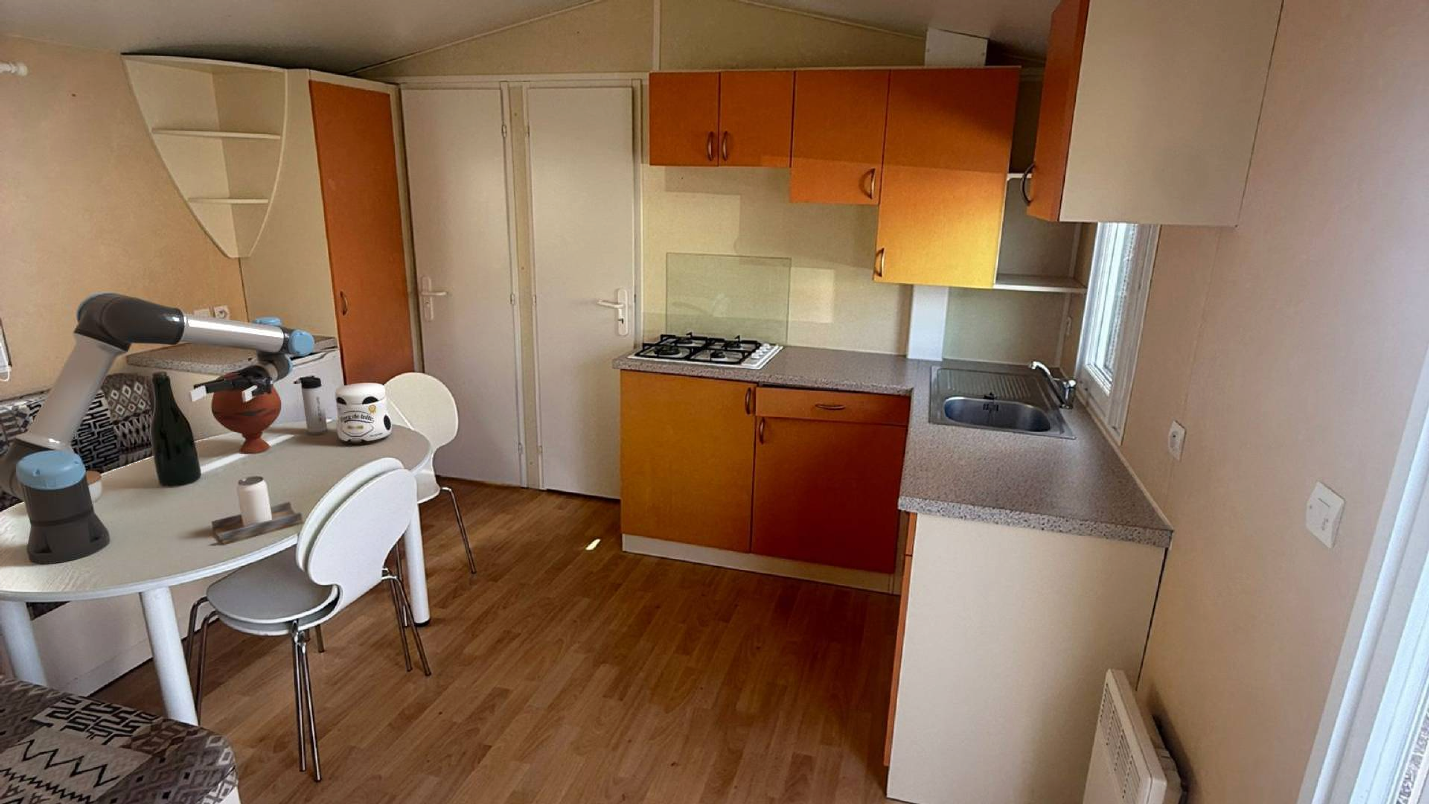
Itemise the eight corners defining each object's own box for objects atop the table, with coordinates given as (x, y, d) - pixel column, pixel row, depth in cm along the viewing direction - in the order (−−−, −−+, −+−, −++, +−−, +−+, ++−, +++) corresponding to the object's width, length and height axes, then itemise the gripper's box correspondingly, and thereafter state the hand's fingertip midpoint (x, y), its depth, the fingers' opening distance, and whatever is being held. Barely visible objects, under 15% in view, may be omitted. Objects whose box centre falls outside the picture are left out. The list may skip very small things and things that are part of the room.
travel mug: (308, 430, 266) (300, 375, 261) (329, 428, 268) (321, 374, 263) (305, 435, 261) (297, 380, 255) (326, 434, 263) (318, 379, 257)
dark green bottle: (200, 471, 228) (180, 366, 219) (203, 482, 220) (182, 373, 211) (158, 478, 222) (136, 370, 213) (159, 490, 214) (136, 378, 205)
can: (259, 530, 190) (251, 486, 186) (237, 527, 191) (229, 483, 188) (278, 519, 196) (271, 476, 192) (257, 517, 197) (249, 474, 194)
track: (223, 544, 184) (222, 535, 183) (212, 530, 191) (211, 520, 190) (303, 523, 196) (301, 514, 195) (290, 510, 203) (288, 501, 203)
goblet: (214, 448, 247) (201, 374, 240) (279, 436, 260) (268, 366, 253) (226, 464, 234) (212, 387, 227) (294, 451, 246) (283, 377, 239)
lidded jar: (102, 508, 202) (95, 475, 200) (51, 516, 197) (43, 483, 195) (109, 494, 211) (102, 462, 209) (60, 501, 206) (52, 469, 203)
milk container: (347, 451, 247) (340, 398, 242) (331, 437, 260) (325, 387, 255) (400, 440, 258) (395, 389, 253) (383, 427, 271) (377, 379, 266)
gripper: (303, 389, 222) (268, 410, 202) (214, 389, 220) (170, 410, 200) (299, 364, 220) (263, 383, 200) (210, 364, 218) (165, 383, 198)
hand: (217, 397), depth 200 cm, fingers open, 13 cm apart
